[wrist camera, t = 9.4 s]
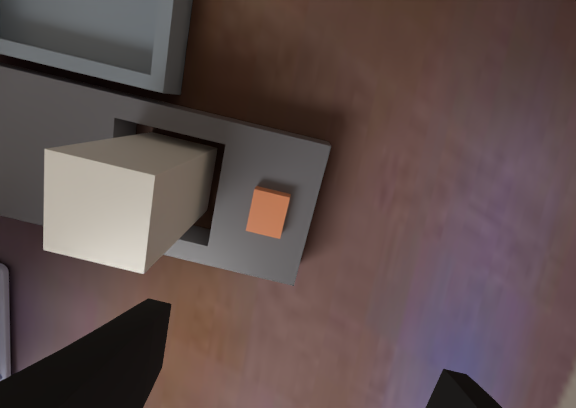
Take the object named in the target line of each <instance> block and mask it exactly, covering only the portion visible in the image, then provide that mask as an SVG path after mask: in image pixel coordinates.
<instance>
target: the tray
mask: <svg viewBox="0 0 576 408" xmlns="http://www.w3.org/2000/svg"><path fill="white" fill-rule="evenodd" d="M192 2H193V0H0V54H3V55H7V56H11V57H15V58H20V59H24V60H28V61H32V62H36V63H40V64H44V65H48V66H53V67H57V68H61V69H65V70H69V71H73V72H77V73H81V74H86V75H90V76H94V77H98V78H102V79H106V80H110V81H115V82H119V83H123V84H127V85H131V86H135V87H139V88H143V89H148V90H152V91H156V92H160V93H166V94H176V95H181V88H182V80H183V72H184V64H185V56H186V49H187V41H188V33H189V25H190V18H191V10H192Z"/></svg>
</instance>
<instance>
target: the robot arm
mask: <svg viewBox="0 0 576 408" xmlns="http://www.w3.org/2000/svg"><path fill="white" fill-rule="evenodd" d="M170 310H171V304H169V303H165V302H161V301H157V300H153V299H147V300H145V301H143V302H141V303H140V304H138V305H136V306H134V307H133V308H131V309H129V310H128V311H126V312H124V313H123V314H121V315H120V316H118V317H116V318H115V319H113V320H111V321H110V322H108V323H106V324H104V325H103V326H101V327H99V328H98V329H96V330H94V331H93V332H91V333H89V334H87V335H86V336H84V337H82V338H80V339H79V340H77V341H75V342H73V343H72V344H70V345H68V346H66V347H65V348H63V349H61V350H59V351H57V352H55V353H53V354H52V355H50V356H48V357H46V358H44V359H42V360H40V361H38V362H36V363H35V364H33V365H31V366H29V367H27V368H25V369H23V370H21V371H19V372H17V373H16V374H13V375H11V359H10V311H9V272H8V269H7V267H6V266H5V265H3V264H1V263H0V408H143V406H144V404H145V402H146V400H147V398H148V396H149V394H150V392H151V390H152V388H153V386H154V383H155V381H156V379H157V377H158V375H159V373H160V371H161V368H162V364H163V358H164V351H165V344H166V337H167V330H168V323H169V317H170ZM426 408H502V407H501V406H500V405H499V404H498V403H497V402H496V401H495V400H494V399H493V398H492V397H491V396H490V395H489V394H488V393H487V392H486V391H484V390H483V389H482V388H481V387H480V386H479V385H478V384H477V383H476V382H475V381H474V380H472V379H471V378H470V377H469V376H468V375H467V374H463V373H459V372H454V371H450V370H446V369H443V371H442V373H441V375H440V378H439V380H438V382H437V384H436V386H435V388H434V391H433V393H432V395H431V397H430V399H429V402H428V404H427V406H426Z"/></svg>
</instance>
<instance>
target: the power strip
mask: <svg viewBox="0 0 576 408" xmlns="http://www.w3.org/2000/svg"><path fill="white" fill-rule="evenodd" d="M137 123H139V124H143V125H147V126H151V127H155V128H159V129H164V130H168V131H172V132H176V133H180V134H184V135H188V136H193V137H197V138H201V139H205V140H209V141H213V142H217V143H222V144H226V145H225V151H224V156H223V162H222V168H221V173H220V179H219V185H218V191H217V196H216V202H215V208H214V214H213V219H212V225H211V229H207V228H203V227H198V226H194V225H192V226H191V227H190V228H189V229H188V230H187V231H186V232H185V233H184V234H183V235H182V236H181V237H180V238H179V239H178V240H177V241H176V242H175V243H174V244H173V245H172V246H171V247H170V248H169V249H168V250H167V251H166V252H165V253H164V254H163V255H167V256H171V257H175V258H179V259H184V260H188V261H192V262H196V263H200V264H205V265H209V266H213V267H217V268H221V269H225V270H230V271H234V272H238V273H242V274H246V275H251V276H255V277H259V278H263V279H267V280H271V281H276V282H280V283H284V284H288V285H292V286H294V283H295V279H296V275H297V272H298V268H299V264H300V261H301V257H302V253H303V249H304V246H305V242H306V238H307V234H308V231H309V227H310V223H311V220H312V216H313V212H314V208H315V205H316V201H317V197H318V193H319V190H320V186H321V182H322V179H323V175H324V171H325V167H326V164H327V160H328V156H329V152H330V149H331V145H330V143H329V142H328V141H324V140H320V139H316V138H312V137H308V136H303V135H299V134H295V133H291V132H287V131H283V130H279V129H274V128H270V127H266V126H262V125H258V124H254V123H250V122H246V121H241V120H237V119H233V118H229V117H225V116H221V115H217V114H212V113H208V112H204V111H200V110H196V109H192V108H188V107H184V106H179V105H175V104H171V103H167V102H163V101H159V100H155V99H150V98H146V97H142V96H138V95H134V94H130V93H126V92H122V91H117V90H113V89H109V88H105V87H101V86H97V85H93V84H88V83H84V82H80V81H76V80H72V79H68V78H64V77H60V76H55V75H51V74H47V73H43V72H39V71H35V70H31V69H26V68H22V67H18V66H14V65H10V64H6V63H2V62H0V216H4V217H8V218H12V219H17V220H21V221H25V222H29V223H33V224H37V225H42V226H44V149H47V148H53V147H59V146H66V145H72V144H79V143H85V142H91V141H98V140H104V139H110V138H117V137H123V136H130V135H136V125H137Z"/></svg>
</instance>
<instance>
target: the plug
mask: <svg viewBox="0 0 576 408" xmlns="http://www.w3.org/2000/svg"><path fill="white" fill-rule="evenodd" d="M217 149H218V148H216V147H212V146H208V145H204V144H199V143H195V142H191V141H187V140H183V139H179V138H175V137H171V136H166V135H162V134H158V133H154V132H149V133H142V134H136V135H130V136H123V137H117V138H110V139H104V140H98V141H91V142H85V143H79V144H72V145H66V146H59V147H53V148H47V149H44V226H43V250H45V251H50V252H54V253H58V254H62V255H66V256H70V257H75V258H79V259H83V260H87V261H91V262H95V263H100V264H104V265H108V266H112V267H116V268H120V269H125V270H129V271H133V272H137V273H141V274H144V273H145V272H146V271H147V270H148V269H149V268H150V267H151V266H152V265H153V264H154V263H155V262H156V261H157V260H158V259H159V258H160V257H161V256H162V255H163V254H164V253H165V252H166V251H167V250H168V249H169V248H170V247H171V246H172V245H173V244H174V243H175V242H176V241H177V240H178V239H179V238H180V237H181V236H182V235H183V234H184V233H185V232H186V231H187V230H188V229H189V228H190V227H191V226H192V225H193V224H194V223H195V222H196V221H197V220H198V219H199V218H200V217H201V216H202V215H203V214H204V213H205V212H206V211H207V209H208V203H209V197H210V191H211V185H212V179H213V173H214V167H215V161H216V155H217Z"/></svg>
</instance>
